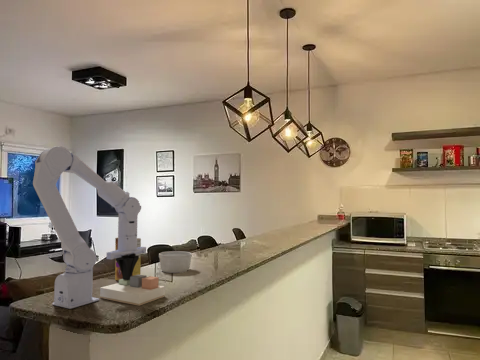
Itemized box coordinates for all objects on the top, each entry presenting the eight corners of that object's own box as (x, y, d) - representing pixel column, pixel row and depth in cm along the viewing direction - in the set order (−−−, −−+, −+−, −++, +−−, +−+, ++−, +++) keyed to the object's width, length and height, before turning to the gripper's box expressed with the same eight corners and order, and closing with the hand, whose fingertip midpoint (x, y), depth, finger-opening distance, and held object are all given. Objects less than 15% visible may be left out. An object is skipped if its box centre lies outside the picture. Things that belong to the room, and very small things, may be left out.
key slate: (138, 289, 108) (138, 277, 108) (129, 287, 109) (130, 276, 109) (146, 286, 111) (146, 275, 111) (138, 285, 112) (138, 274, 112)
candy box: (113, 280, 129) (114, 237, 130) (123, 278, 133) (123, 236, 134) (131, 283, 125) (132, 239, 126) (141, 281, 129) (141, 237, 129)
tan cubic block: (150, 291, 105) (150, 279, 105) (141, 290, 107) (141, 278, 107) (158, 288, 108) (158, 277, 108) (149, 287, 110) (150, 276, 110)
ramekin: (194, 267, 154) (195, 251, 154) (187, 274, 141) (187, 256, 141) (164, 267, 155) (164, 250, 155) (154, 273, 142) (154, 255, 142)
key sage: (126, 292, 110) (126, 281, 110) (118, 290, 112) (118, 279, 112) (134, 289, 113) (134, 278, 113) (126, 288, 115) (127, 277, 115)
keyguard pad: (139, 305, 100) (139, 294, 100) (100, 297, 107) (100, 287, 107) (164, 296, 109) (164, 286, 109) (126, 290, 116) (127, 280, 116)
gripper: (118, 238, 105) (117, 286, 104) (153, 234, 117) (153, 276, 117) (101, 237, 108) (101, 283, 108) (137, 232, 121) (136, 274, 120)
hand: (126, 279), depth 112 cm, fingers closed, pressing on key sage
